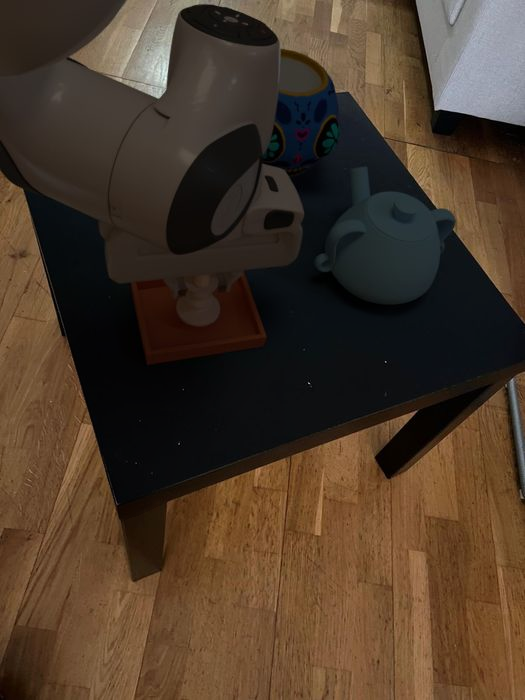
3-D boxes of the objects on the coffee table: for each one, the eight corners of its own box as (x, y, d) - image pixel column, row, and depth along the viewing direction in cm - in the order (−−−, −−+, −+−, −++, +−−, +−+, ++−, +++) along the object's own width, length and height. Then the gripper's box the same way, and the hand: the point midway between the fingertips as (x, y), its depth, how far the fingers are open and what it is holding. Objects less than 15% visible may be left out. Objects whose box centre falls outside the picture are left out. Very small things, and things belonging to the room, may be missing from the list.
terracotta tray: (146, 365, 61) (146, 355, 60) (130, 289, 67) (130, 278, 65) (263, 346, 66) (266, 337, 64) (239, 277, 71) (242, 266, 69)
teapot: (330, 327, 69) (362, 260, 59) (278, 218, 78) (297, 144, 68) (457, 303, 75) (505, 239, 65) (394, 205, 85) (428, 135, 74)
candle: (212, 289, 67) (220, 227, 58) (225, 322, 64) (236, 263, 56) (171, 296, 65) (173, 234, 56) (182, 330, 62) (187, 271, 54)
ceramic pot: (232, 206, 78) (246, 112, 66) (201, 130, 87) (208, 35, 75) (339, 196, 84) (371, 107, 71) (300, 125, 92) (322, 35, 80)
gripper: (100, 230, 46) (111, 325, 57) (320, 212, 52) (290, 301, 63) (91, 180, 49) (103, 280, 60) (299, 169, 55) (274, 262, 66)
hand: (200, 291), depth 62 cm, fingers closed on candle, 4 cm apart
